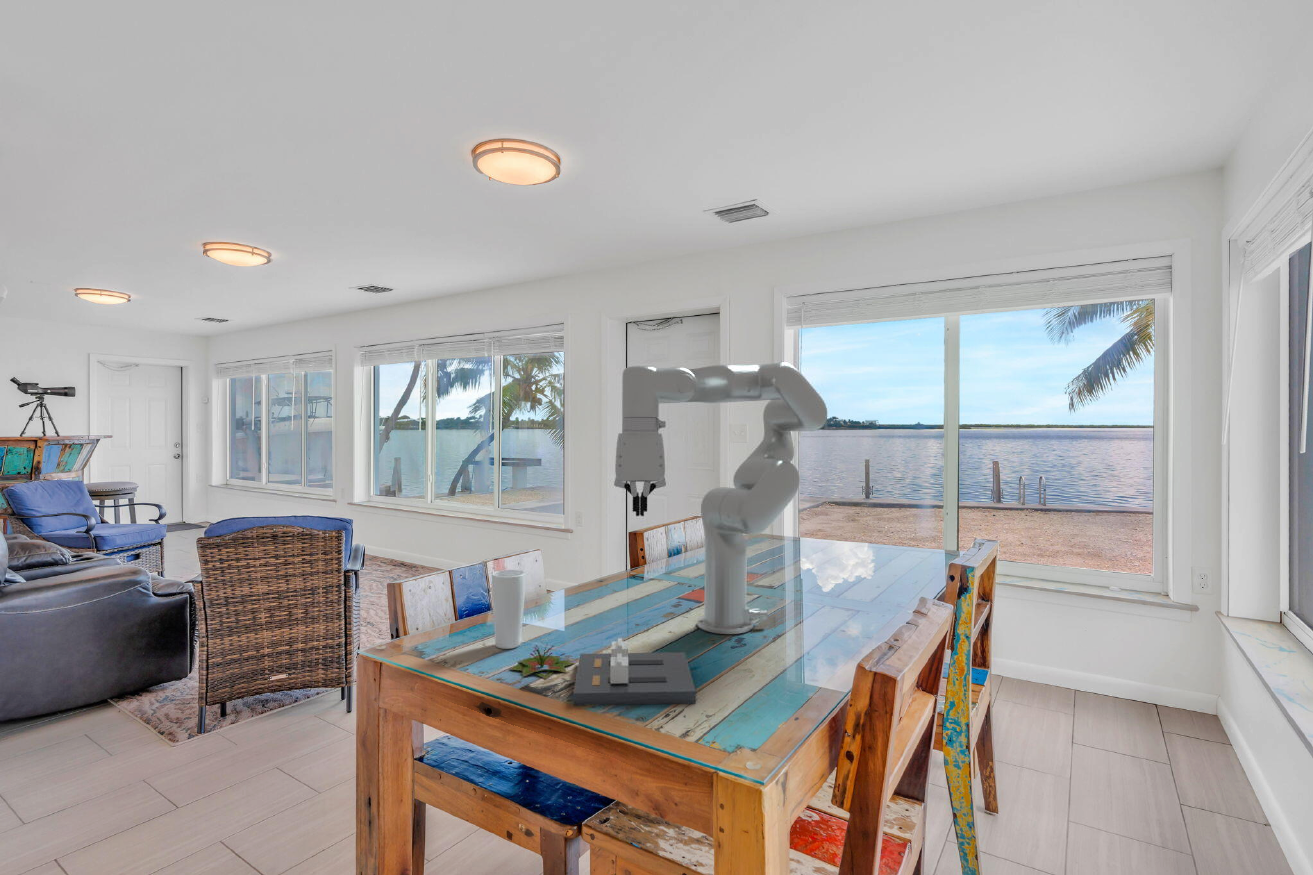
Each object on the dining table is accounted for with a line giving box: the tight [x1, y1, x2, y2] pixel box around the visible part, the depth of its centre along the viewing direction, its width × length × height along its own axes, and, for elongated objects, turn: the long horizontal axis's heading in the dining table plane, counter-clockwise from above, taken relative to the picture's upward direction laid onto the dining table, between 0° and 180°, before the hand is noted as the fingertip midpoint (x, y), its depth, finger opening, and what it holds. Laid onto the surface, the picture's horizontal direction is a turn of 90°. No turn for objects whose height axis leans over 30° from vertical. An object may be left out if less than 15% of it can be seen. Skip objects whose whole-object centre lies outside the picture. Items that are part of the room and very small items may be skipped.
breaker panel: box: [572, 651, 697, 707], centre depth 113 cm, size 20×18×2 cm
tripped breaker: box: [610, 653, 628, 683], centre depth 109 cm, size 3×4×4 cm
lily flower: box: [509, 644, 576, 680], centre depth 120 cm, size 12×12×5 cm
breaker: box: [610, 637, 629, 657], centre depth 117 cm, size 3×4×4 cm
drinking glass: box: [491, 569, 526, 650], centre depth 131 cm, size 7×7×15 cm
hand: (639, 515), depth 131 cm, fingers closed
